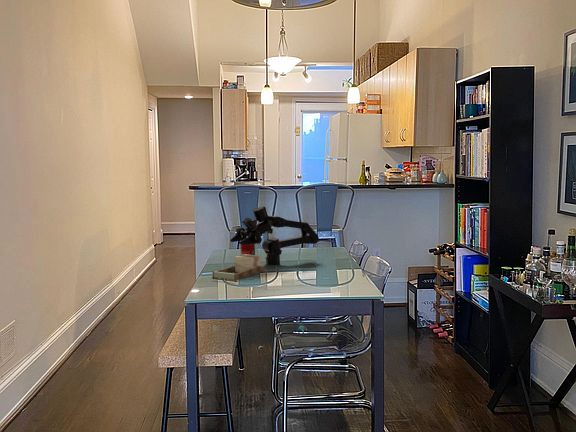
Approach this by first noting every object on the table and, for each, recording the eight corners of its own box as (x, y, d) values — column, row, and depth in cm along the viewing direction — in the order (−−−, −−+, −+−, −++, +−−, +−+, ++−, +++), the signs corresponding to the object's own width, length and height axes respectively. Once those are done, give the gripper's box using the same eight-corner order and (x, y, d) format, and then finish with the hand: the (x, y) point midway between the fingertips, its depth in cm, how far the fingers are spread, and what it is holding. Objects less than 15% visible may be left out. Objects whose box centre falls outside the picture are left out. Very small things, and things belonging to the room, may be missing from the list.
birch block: (245, 268, 285) (244, 254, 284) (261, 270, 279) (260, 255, 279) (235, 271, 278) (234, 256, 277) (251, 273, 273) (251, 258, 272)
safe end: (225, 275, 275) (225, 268, 275) (248, 278, 268) (248, 270, 267) (212, 278, 267) (212, 271, 267) (235, 281, 260) (235, 274, 259)
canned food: (253, 259, 316) (252, 240, 315) (239, 259, 318) (238, 240, 317) (256, 257, 324) (256, 238, 323) (243, 257, 325) (242, 238, 324)
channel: (242, 270, 286) (242, 263, 286) (265, 272, 279) (265, 265, 278) (212, 278, 267) (212, 271, 267) (235, 281, 260) (235, 274, 259)
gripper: (245, 213, 296) (221, 225, 288) (265, 216, 281) (240, 230, 273) (251, 232, 299) (227, 245, 291) (271, 237, 284) (246, 250, 276)
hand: (235, 242), depth 283 cm, fingers open, 9 cm apart
